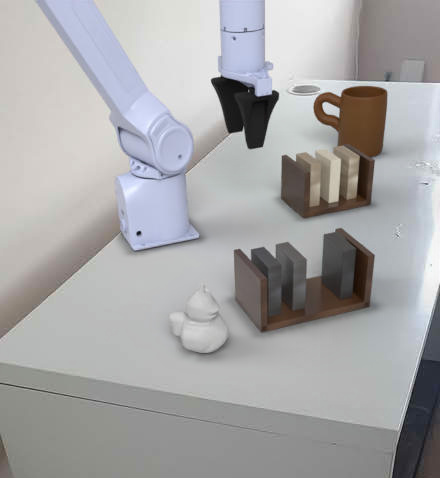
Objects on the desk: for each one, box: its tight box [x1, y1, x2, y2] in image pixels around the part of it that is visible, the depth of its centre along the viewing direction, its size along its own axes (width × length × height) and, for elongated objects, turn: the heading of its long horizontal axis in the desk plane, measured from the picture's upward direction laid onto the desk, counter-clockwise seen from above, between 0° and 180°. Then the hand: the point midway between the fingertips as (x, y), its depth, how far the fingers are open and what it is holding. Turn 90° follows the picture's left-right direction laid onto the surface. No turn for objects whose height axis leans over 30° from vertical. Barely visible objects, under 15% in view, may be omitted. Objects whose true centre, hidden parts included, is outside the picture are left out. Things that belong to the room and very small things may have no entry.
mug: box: [312, 85, 389, 158], centre depth 119 cm, size 12×8×9 cm, turn 75°
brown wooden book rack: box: [280, 144, 376, 219], centre depth 104 cm, size 11×8×7 cm
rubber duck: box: [168, 280, 230, 354], centre depth 75 cm, size 5×7×8 cm
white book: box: [314, 148, 341, 203], centre depth 104 cm, size 2×5×6 cm, turn 20°
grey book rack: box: [233, 227, 376, 333], centre depth 82 cm, size 14×8×7 cm, turn 110°
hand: (245, 139), depth 100 cm, fingers open, 7 cm apart
